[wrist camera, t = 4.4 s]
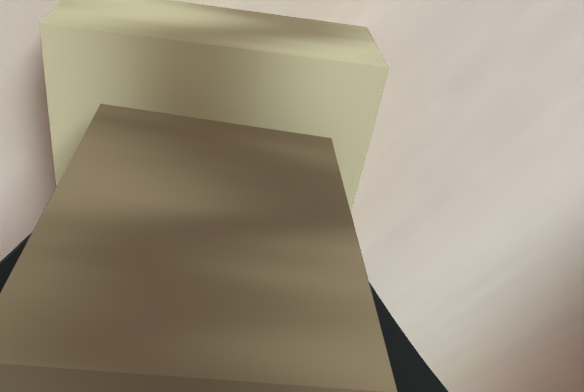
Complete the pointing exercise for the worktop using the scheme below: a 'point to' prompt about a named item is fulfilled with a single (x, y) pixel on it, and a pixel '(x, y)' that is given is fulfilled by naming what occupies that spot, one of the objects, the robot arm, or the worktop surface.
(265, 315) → the walnut block
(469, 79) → the worktop surface
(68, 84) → the oak block
